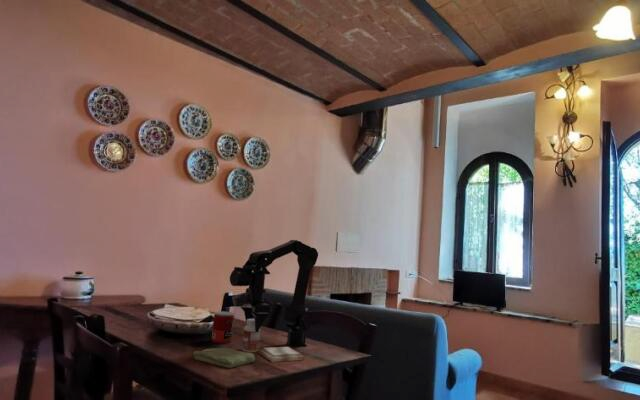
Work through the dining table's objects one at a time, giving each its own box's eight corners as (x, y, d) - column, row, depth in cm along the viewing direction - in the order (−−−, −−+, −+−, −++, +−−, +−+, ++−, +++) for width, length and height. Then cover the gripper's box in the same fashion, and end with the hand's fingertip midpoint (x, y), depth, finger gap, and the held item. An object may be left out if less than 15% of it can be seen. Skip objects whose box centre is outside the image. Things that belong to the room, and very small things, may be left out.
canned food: (227, 344, 161) (230, 315, 162) (207, 342, 162) (210, 313, 164) (234, 340, 168) (237, 312, 170) (216, 338, 170) (219, 310, 171)
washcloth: (218, 353, 149) (219, 343, 149) (257, 363, 139) (257, 353, 140) (189, 359, 138) (190, 349, 138) (229, 371, 128) (230, 360, 129)
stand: (289, 351, 157) (289, 346, 158) (303, 359, 147) (304, 354, 147) (259, 353, 152) (259, 347, 152) (271, 361, 141) (272, 355, 142)
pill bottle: (239, 348, 155) (242, 318, 157) (254, 348, 158) (257, 318, 160) (244, 353, 150) (247, 321, 151) (260, 352, 153) (263, 321, 154)
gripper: (228, 282, 161) (223, 324, 160) (244, 288, 145) (239, 334, 143) (255, 283, 167) (251, 324, 165) (273, 289, 151) (269, 334, 149)
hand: (252, 329), depth 155 cm, fingers open, 9 cm apart
